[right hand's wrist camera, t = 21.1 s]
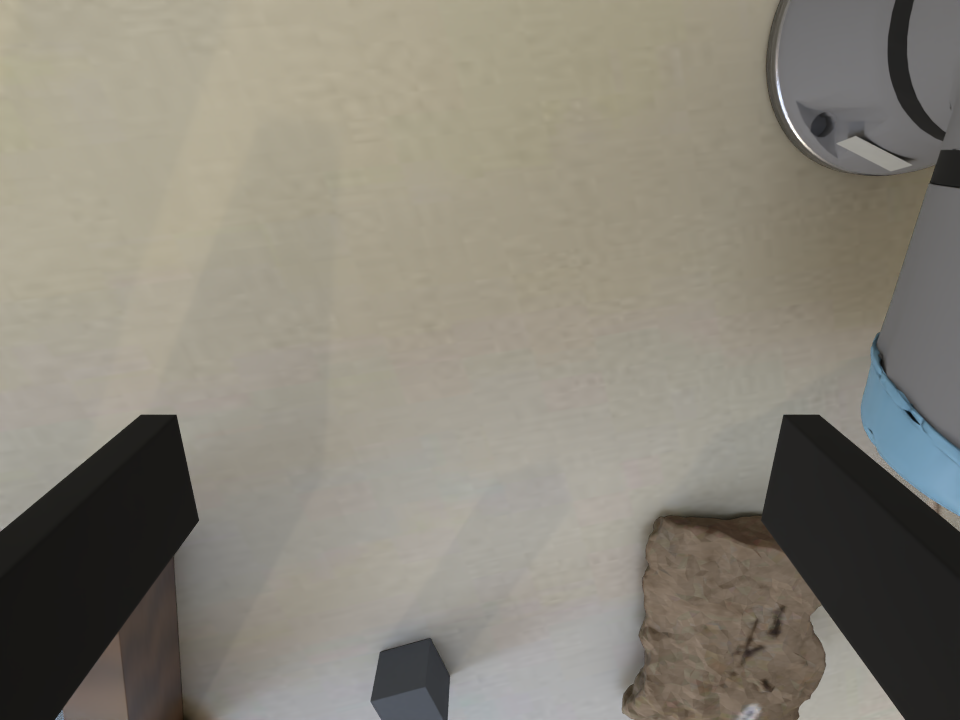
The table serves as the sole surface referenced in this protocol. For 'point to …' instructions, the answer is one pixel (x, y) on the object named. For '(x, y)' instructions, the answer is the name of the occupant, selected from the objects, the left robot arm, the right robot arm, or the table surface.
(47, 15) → the table surface
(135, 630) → the bar
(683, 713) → the stone
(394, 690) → the block
